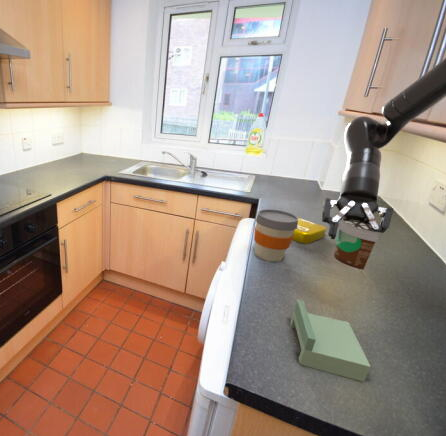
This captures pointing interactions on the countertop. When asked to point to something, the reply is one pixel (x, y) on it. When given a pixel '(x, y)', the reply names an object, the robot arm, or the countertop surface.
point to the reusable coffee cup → (274, 233)
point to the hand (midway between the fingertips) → (350, 241)
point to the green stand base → (329, 344)
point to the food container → (354, 242)
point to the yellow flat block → (308, 231)
